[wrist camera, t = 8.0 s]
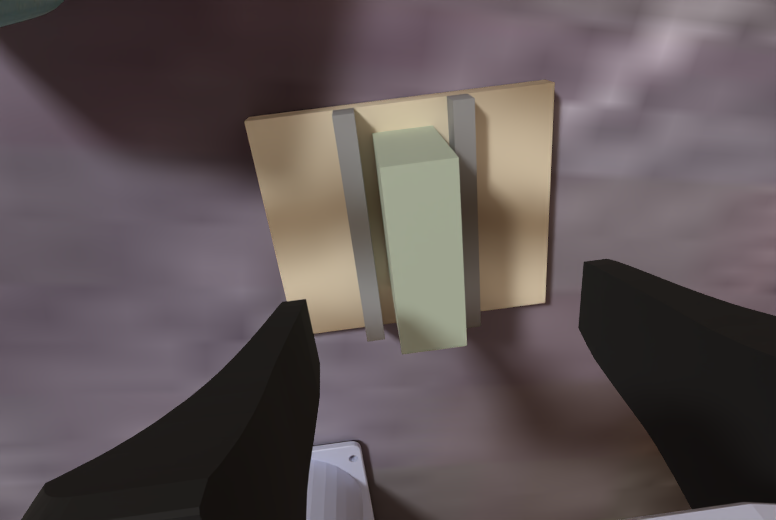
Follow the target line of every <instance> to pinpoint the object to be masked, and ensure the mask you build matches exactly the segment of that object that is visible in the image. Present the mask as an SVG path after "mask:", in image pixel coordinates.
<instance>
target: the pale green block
mask: <svg viewBox="0 0 776 520" xmlns="http://www.w3.org/2000/svg"><path fill="white" fill-rule="evenodd" d="M372 136H373V144H374V152H375V160H376V169H377V177H378V185H379V193H380V201H381V209H382V217H383V226H384V234H385V242H386V250H387V258H388V266H389V274H390V283H391V290H392V296H393V302H394V308H395V315H396V321H397V327H398V333H399V339H400V345H401V352H402V354H409V353H416V352H424V351H431V350H439V349H446V348H453V347H461V346H467V334H466V311H465V288H464V266H463V243H462V220H461V198H460V175H459V157H458V156H457V155H456V154H455V152H454V151H453V150H452V149H451V147H450V146H449V145H448V144H447V142H446V141H445V140H444V139H443V137H442V136H441V135H440V134H439V133H438V131H437V130H436V129H435V128H434V126H433V125H432V126H424V127H416V128H408V129H400V130H392V131H385V132H377V133H372Z"/></svg>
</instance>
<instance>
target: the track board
mask: <svg viewBox="0 0 776 520" xmlns="http://www.w3.org/2000/svg"><path fill="white" fill-rule="evenodd" d="M554 85H555V82H551V81H548V80H539V81H531V82H523V83H515V84H507V85H499V86H491V87H483V88H475V89H467V90H459V91H451V92H443V93H435V94H427V95H419V96H411V97H403V98H395V99H388V100H380V101H372V102H364V103H356V104H348V105H340V106H332V107H324V108H316V109H308V110H300V111H292V112H284V113H276V114H268V115H260V116H252V117H248V118H247V119H246V120H245V121H244V123H245V127H246V131H247V135H248V140H249V144H250V148H251V152H252V156H253V161H254V165H255V169H256V173H257V177H258V182H259V186H260V190H261V194H262V198H263V203H264V207H265V211H266V215H267V219H268V224H269V228H270V232H271V236H272V240H273V245H274V249H275V253H276V257H277V261H278V266H279V270H280V274H281V278H282V282H283V287H284V291H285V295H286V299H287V301H294V300H302V299H306V302H307V306H308V311H309V315H310V320H311V325H312V329H313V334H315V333H322V332H330V331H337V330H345V329H352V328H360V327H365V329H366V336H367V342H368V341H375V340H383V339H385V335H384V327H383V324H390V323H397V321H396V315H395V308H394V302H393V296H392V290H391V283H390V274H389V266H388V258H387V250H386V242H385V234H384V226H383V217H382V209H381V201H380V193H379V185H378V177H377V169H376V160H375V152H374V144H373V136H372V133H377V132H385V131H392V130H400V129H408V128H416V127H424V126H432V125H433V126H434V128H435V129H436V130H437V131H438V133H439V134H440V135H441V136H442V137H443V139H444V140H445V141H446V142H447V144H448V145H449V146H450V147H451V149H452V150H453V151H454V152H455V154H456V155H457V156H458V157H459V175H460V198H461V220H462V243H463V266H464V288H465V311H466V328H472V327H480V326H481V311H487V310H494V309H502V308H509V307H517V306H524V305H532V304H539V303H545V294H546V271H547V248H548V224H549V201H550V178H551V154H552V131H553V108H554Z"/></svg>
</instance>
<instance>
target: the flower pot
mask: <svg viewBox="0 0 776 520" xmlns="http://www.w3.org/2000/svg"><path fill="white" fill-rule="evenodd" d="M63 1H64V0H0V27H3V26H6V25H10V24H14V23H18V22H22V21H25V20H29V19H33V18H36V17H39V16H42V15H44V14H47V13H49V12H51V11H52V10H54V9H56V8H57V7H58V6H59V5H60V4H61V3H62V2H63Z"/></svg>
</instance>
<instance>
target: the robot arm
mask: <svg viewBox="0 0 776 520" xmlns="http://www.w3.org/2000/svg"><path fill="white" fill-rule="evenodd" d="M579 330H580V332H581V334H582V336H583V338H584V340H585V342H586V344H587V346H588V348H589V350H590V351H591V353H592V355H593V357H594V359H595V360H596V362H597V363H598V365H599V366H600V367H601V369H602V370H603V372H604V373H605V374H606V376H607V377H608V379H609V380H610V381H611V383H612V384H613V386H614V387H615V388H616V390H617V391H618V392H619V394H620V395H621V396H622V398H623V399H624V401H625V402H626V403H627V405H628V406H629V407H630V409H631V410H632V411H633V413H634V414H635V416H636V417H637V418H638V420H639V421H640V422H641V424H642V425H643V426H644V428H645V429H646V431H647V432H648V434H649V435H650V437H651V438H652V440H653V441H654V443H655V444H656V446H657V448H658V450H659V451H660V453H661V455H662V456H663V458H664V460H665V462H666V463H667V465H668V467H669V469H670V470H671V472H672V474H673V475H674V477H675V479H676V481H677V483H678V484H679V486H680V488H681V490H682V492H683V494H684V495H685V497H686V499H687V501H688V503H689V505H690V507H691V508H692V509H691V510H684V511H677V512H670V513H663V514H656V515H649V516H642V517H635V518H628V519H621V520H776V316H773V315H770V314H766V313H762V312H759V311H755V310H751V309H748V308H744V307H741V306H738V305H734V304H731V303H728V302H725V301H722V300H719V299H716V298H713V297H710V296H707V295H704V294H702V293H699V292H696V291H693V290H691V289H688V288H685V287H683V286H680V285H677V284H675V283H672V282H670V281H667V280H664V279H662V278H659V277H657V276H654V275H652V274H649V273H647V272H644V271H641V270H639V269H636V268H634V267H631V266H628V265H626V264H623V263H620V262H617V261H613V260H610V259H602V260H595V261H587V262H584V266H583V278H582V291H581V303H580V316H579ZM319 398H320V362H319V357H318V352H317V348H316V343H315V339H314V334H313V329H312V325H311V320H310V315H309V311H308V306H307V302H306V299H302V300H294V301H287V302H282V303H281V304H280V305H279V306H278V308H277V309H276V310H275V311H274V312H273V314H272V315H271V316H270V317H269V318H268V320H267V321H266V322H265V323H264V324H263V326H262V327H261V328H260V329H259V330H258V332H257V333H256V334H255V335H254V336H253V337H252V338H251V340H250V341H249V342H248V343H247V344H246V345H245V346H244V347H243V348H242V349H241V350H240V351H239V353H238V354H237V355H236V356H235V357H234V358H233V359H232V360H231V361H230V362H229V363H228V364H227V365H226V366H225V367H224V368H223V369H222V370H221V371H220V372H219V373H218V374H217V375H215V376H214V377H213V378H212V379H211V380H210V381H209V382H208V383H206V384H205V385H204V386H203V387H202V388H200V389H199V390H198V391H197V392H196V393H195V394H193V395H192V396H191V397H190V398H188V399H187V400H186V401H184V402H183V403H181V404H180V405H179V406H177V407H176V408H175V409H173V410H172V411H170V412H169V413H168V414H166V415H165V416H163V417H162V418H161V419H159V420H158V421H156V422H155V423H154V424H152V425H151V426H149V427H147V428H146V429H144V430H143V431H141V432H139V433H138V434H136V435H135V436H133V437H132V438H130V439H128V440H126V441H125V442H123V443H121V444H120V445H118V446H116V447H115V448H113V449H111V450H109V451H108V452H106V453H104V454H102V455H100V456H99V457H97V458H95V459H93V460H91V461H89V462H87V463H85V464H83V465H81V466H79V467H77V468H75V469H73V470H71V471H69V472H67V473H65V474H63V475H61V476H59V477H58V478H55V479H53V480H51V481H49V482H47V483H45V485H44V486H43V488H42V489H41V490H40V492H39V493H38V495H37V496H36V498H35V499H34V501H33V502H32V504H31V505H30V507H29V509H28V510H27V512H26V513H25V515H24V516H23V518H22V519H21V520H375V519H374V514H373V509H372V503H371V498H370V493H369V487H368V482H367V477H366V471H365V466H364V461H363V455H362V450H361V446H360V444H359V443H358V442H355V441H349V442H341V443H334V444H327V445H320V446H313V442H314V435H315V428H316V420H317V413H318V406H319ZM352 455H354V456H352Z"/></svg>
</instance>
